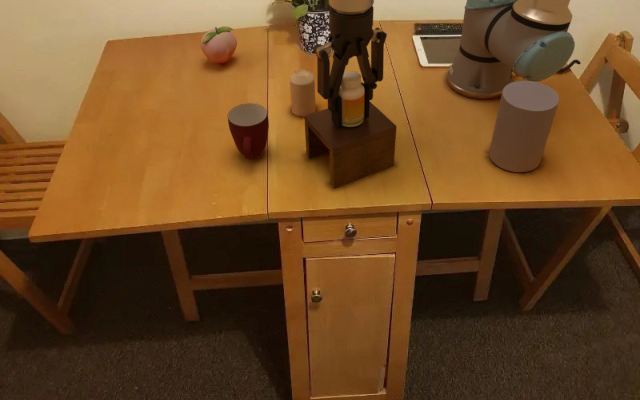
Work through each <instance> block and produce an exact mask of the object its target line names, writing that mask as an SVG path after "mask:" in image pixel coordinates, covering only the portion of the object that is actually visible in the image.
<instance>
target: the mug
mask: <svg viewBox="0 0 640 400" xmlns="http://www.w3.org/2000/svg"><path fill="white" fill-rule="evenodd" d="M268 113H269V112H268V110H267V108H266V107H264V106H263V105H262V104H258V103H252V102H247V103H242V104H238V105H236V106H233V107H232V108H231V109H230V110H229V111H228V113H227V124H228V127H229V128H228V129H229V131H230V134H231V137H232V139H233V142H234V145H235V147H236V149H237V150H238V151H239V153H240V154H241V155H242V156H243V157H244V158H245V159H247V160H256V159H258V158H261V156H262V155H263V153H264V152H265V149H266V148H267V144H268V137H269V126H270V124H269V114H268Z"/></svg>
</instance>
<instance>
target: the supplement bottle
mask: <svg viewBox="0 0 640 400" xmlns="http://www.w3.org/2000/svg"><path fill="white" fill-rule="evenodd" d="M361 83H362V75H361V73H359V72H357V71H353V70H348V71H344V75H343V79H342V83H341V87H340V91H339V94H338V95H339V96H340V97H341V98H342V126H346V127H355V126H358V125H360V124H361V123H362V122H363V120H364V96H365V90H364V86H363V85H362V84H361Z"/></svg>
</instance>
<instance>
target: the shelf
mask: <svg viewBox="0 0 640 400" xmlns="http://www.w3.org/2000/svg"><path fill="white" fill-rule="evenodd" d="M303 119H304V120H303V121H304V136H305V137H304V138H305V153H306V154H305V155H306V157H307V158H308V159H309V160H311V159H313V158H316V157H319V156H322V155H325V154H327V153H329V184H330V186H331V187H332V189H336V188H339V187H341V186H342V187H343V186H344V185H347V184H350V183H352V182H354V181H358V180H359V179H363V178H365V177H368V176H370V175H373V174H376V173H378V172H382V171H384V170H386V169H389V168H391V167H394V166H395V153H396V140H397V130H398V129H397V125H396V124H395V123H394V122H393V121H392V120H391V119H390V118H389V117H388V116H387V115H386V114H384V113H383V112H382V111H381V110H380V109H379V108H378V107H377V106H376V105H375V104H374V103H372V102H371V101H370V106H369V118H365V117H364V120H363V122H362V123H361V124H360V125H358V126H355V127H346V126H342V127H340V128H338V127H337V126H336V125H335V124H334V123H333V122H332V112H331V111H330V110H329V109H328V107H327V108H324V109H321V110H319V111H315V112H314V113H312V114H309V115H306V116H304V118H303Z"/></svg>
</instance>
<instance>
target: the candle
mask: <svg viewBox="0 0 640 400" xmlns="http://www.w3.org/2000/svg"><path fill="white" fill-rule="evenodd" d="M289 90H290V91H289V92H290V103H291V112H292V113H293V115H295V116H297V117H301V118H302V117H304V116H306V115H309V114H312V113H315V112H316V109H317V108H316V81H315V75H314V74H313V73H311V72H310V71H309V70H308V69H306V68H299V69H298V70H295V71H294V72H293V73H292V74H291V75H290V76H289Z"/></svg>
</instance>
